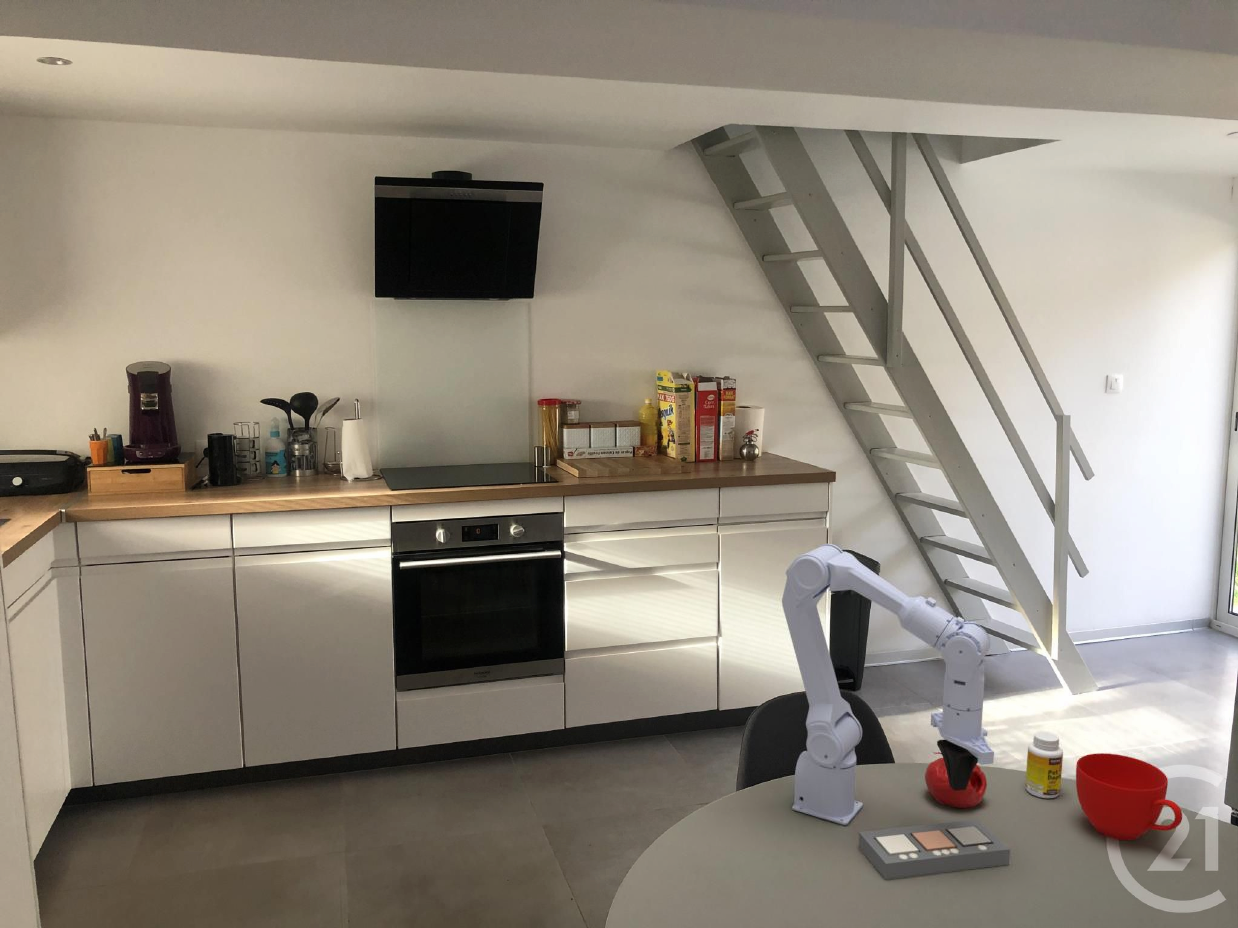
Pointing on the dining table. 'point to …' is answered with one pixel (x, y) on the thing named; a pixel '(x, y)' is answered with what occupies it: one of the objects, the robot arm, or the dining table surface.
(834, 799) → the robot arm
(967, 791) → the red hollow rounded sculpture
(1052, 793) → the supplement bottle
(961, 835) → the button one dot
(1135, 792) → the ceramic cup
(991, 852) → the button panel
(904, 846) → the button two dot
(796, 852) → the dining table surface
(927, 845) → the button three dot
